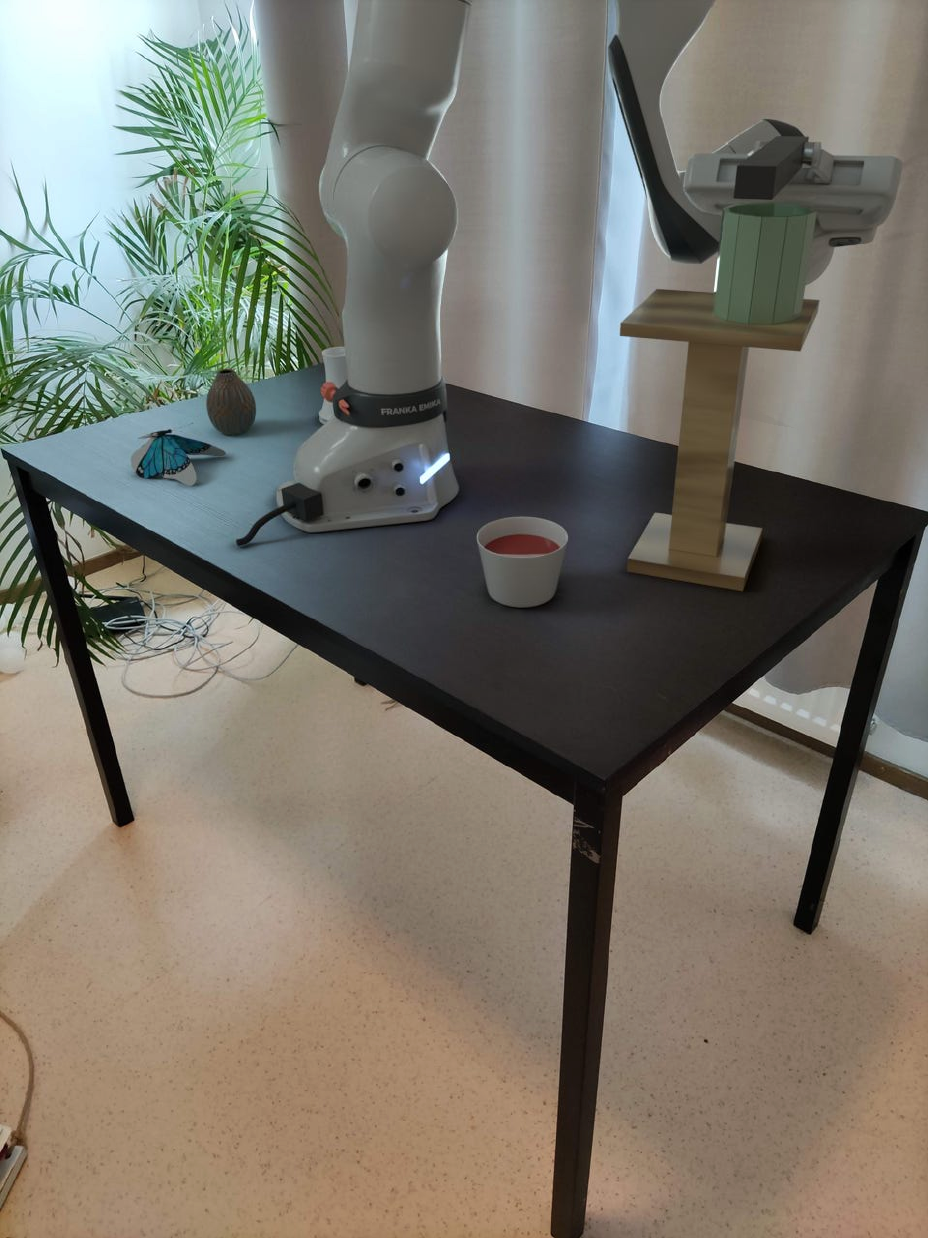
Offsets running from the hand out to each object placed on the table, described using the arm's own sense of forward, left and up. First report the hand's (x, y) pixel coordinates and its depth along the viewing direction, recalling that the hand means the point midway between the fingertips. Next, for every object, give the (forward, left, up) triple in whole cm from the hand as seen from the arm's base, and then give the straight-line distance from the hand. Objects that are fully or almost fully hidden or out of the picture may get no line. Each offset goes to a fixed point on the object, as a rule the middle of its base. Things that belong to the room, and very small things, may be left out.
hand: (786, 149), depth 89 cm
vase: (-46, +58, -39) cm, 83 cm away
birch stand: (-7, -3, -39) cm, 40 cm away
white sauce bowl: (-28, -2, -39) cm, 48 cm away
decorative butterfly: (-56, +47, -39) cm, 83 cm away
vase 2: (-30, +56, -39) cm, 74 cm away
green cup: (-5, -5, -13) cm, 15 cm away
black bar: (-5, -5, -2) cm, 7 cm away
